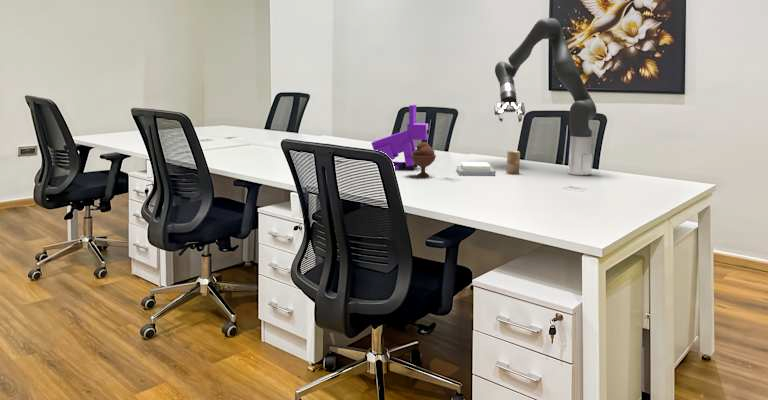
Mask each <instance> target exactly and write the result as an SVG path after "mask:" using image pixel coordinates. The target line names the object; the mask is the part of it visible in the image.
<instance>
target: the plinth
mask: <svg viewBox="0 0 768 400" xmlns="http://www.w3.org/2000/svg"><path fill="white" fill-rule="evenodd" d="M456 171H457V173H458V175H459V176H468V177H469V176H471V177H472V176H473V177H474V176H477V177H479V176H480V177H482V176H483V177H485V176H487V177H492V176H494V177H496V170H495V169H494V168H493V167H492V166H491V165H490V164H489V163H488V162H487V161H486V162H477V161H476V162H475V161H473V162H470V161H466V162H464V161H462V162H461V165H456Z"/></svg>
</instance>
